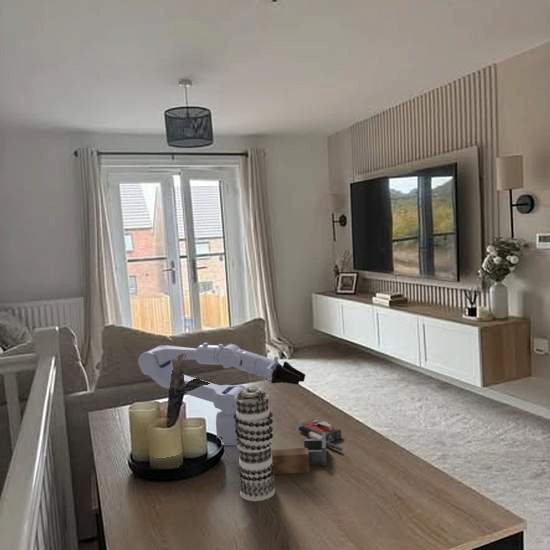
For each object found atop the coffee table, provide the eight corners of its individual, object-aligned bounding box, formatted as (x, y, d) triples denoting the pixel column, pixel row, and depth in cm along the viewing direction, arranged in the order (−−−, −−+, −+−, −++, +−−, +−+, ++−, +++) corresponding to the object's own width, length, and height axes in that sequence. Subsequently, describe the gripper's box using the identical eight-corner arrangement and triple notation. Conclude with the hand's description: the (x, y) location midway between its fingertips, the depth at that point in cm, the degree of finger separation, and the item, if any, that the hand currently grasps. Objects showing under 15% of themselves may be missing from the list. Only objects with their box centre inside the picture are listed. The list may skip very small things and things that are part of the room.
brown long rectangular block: (247, 476, 131) (246, 457, 131) (248, 469, 135) (246, 451, 135) (309, 472, 131) (308, 454, 131) (308, 466, 135) (307, 447, 135)
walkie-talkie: (292, 434, 156) (339, 455, 140) (292, 420, 156) (338, 440, 140) (314, 426, 162) (361, 446, 146) (313, 413, 161) (360, 431, 145)
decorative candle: (272, 503, 117) (266, 397, 115) (233, 500, 119) (227, 396, 117) (280, 483, 126) (274, 384, 124) (244, 481, 128) (238, 384, 126)
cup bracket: (303, 466, 135) (302, 447, 134) (304, 449, 144) (304, 432, 144) (326, 466, 134) (325, 447, 134) (326, 449, 144) (325, 432, 143)
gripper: (254, 352, 142) (300, 367, 139) (268, 350, 156) (310, 364, 153) (247, 377, 142) (293, 392, 138) (261, 373, 156) (303, 387, 152)
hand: (302, 379), depth 145 cm, fingers open, 7 cm apart
